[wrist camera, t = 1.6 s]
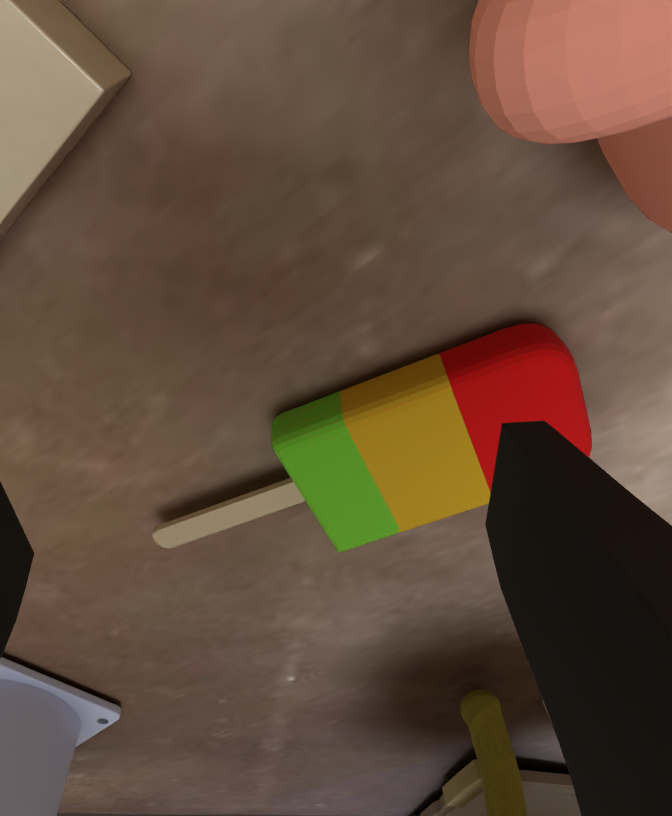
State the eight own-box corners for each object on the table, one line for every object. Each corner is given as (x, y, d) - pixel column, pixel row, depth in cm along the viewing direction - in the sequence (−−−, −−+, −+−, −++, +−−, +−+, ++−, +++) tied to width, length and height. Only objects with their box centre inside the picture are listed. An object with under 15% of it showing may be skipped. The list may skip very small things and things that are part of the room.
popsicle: (581, 436, 21) (604, 473, 20) (199, 565, 24) (193, 606, 22) (550, 302, 18) (575, 333, 17) (117, 468, 21) (103, 508, 19)
